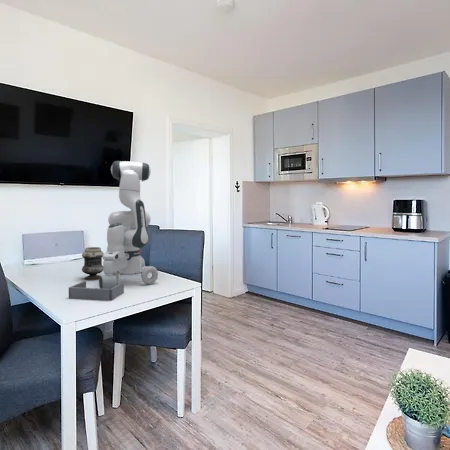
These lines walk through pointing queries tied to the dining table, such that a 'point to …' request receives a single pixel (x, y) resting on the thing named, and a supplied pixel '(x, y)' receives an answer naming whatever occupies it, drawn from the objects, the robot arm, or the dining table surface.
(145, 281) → the donut
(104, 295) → the box
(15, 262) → the dining table surface
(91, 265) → the apothecary jar
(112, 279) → the ceramic mug
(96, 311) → the dining table surface
